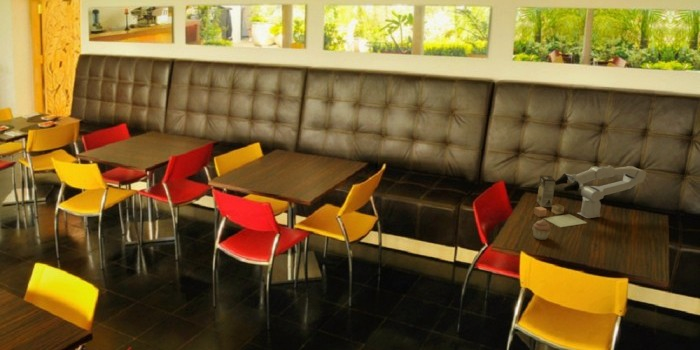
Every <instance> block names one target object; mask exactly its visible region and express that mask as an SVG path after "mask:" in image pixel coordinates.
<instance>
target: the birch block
mask: <svg viewBox="0 0 700 350" xmlns="http://www.w3.org/2000/svg"><path fill="white" fill-rule="evenodd" d="M550 210H551V211H550V212H551V213H553V214H555V215H561V214H562V215H564V213H565V212H564V211H565V206H563V205H561V204H559V203H556V204H552V207H551V209H550Z"/></svg>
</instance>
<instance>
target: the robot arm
mask: <svg viewBox="0 0 700 350" xmlns="http://www.w3.org/2000/svg"><path fill="white" fill-rule="evenodd" d="M616 175H623V177H622V180H620V181H619V180H618V181H616V182H612V183H608V184H607V183H606V184H604V185H599V186H596V185H590V186H589V185H585V186H584V184H586V183H589V182H592V181H594V180H596V179H597V180H600V181H601V180H603V179H604V178H613V177H615V176H616ZM646 177H647V172H646V171H645V170H644V169H640V168H637V167H635V166H633V165H627V166H622V167H614V166H612V165H607V166H595V165H592V166H591V167H590V168H589V169H587V170H585V171H581V172H579V173H577V174H575V173H572V174H568V173H562V175H561V176H560V177H559V178H558V179H557V180H556V179H555V186H559V185H562V184H568V181H569V182H570V184H568V185H566V186H564V187H563V192H579V190H581V191H580V195H581V196H582V197H581V198H582V203H581V209H580V211H579V212H577V213H576V214H577V215H579V216H581V217H583V218H586V219H591V218H592V219H593V218H600V217H601V215H600V212H601V209H602V208H601V206H602V204H601V203H602V202H601V201H600V200H602V199H604V196H606V195H607V196H608V195H611V194H614V193H620V192H622V191H627V190H630V189H632V188H633V187H635V186H637V185H638V184H641V183H643V182H644V181H645V179H646Z"/></svg>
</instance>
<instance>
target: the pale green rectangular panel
mask: <svg viewBox="0 0 700 350" xmlns="http://www.w3.org/2000/svg"><path fill="white" fill-rule="evenodd" d="M542 219H544V220H545V221H546V222H548V223H551V224H553V225H554V226H556V227H558V228H567V227H573V226H574V227H575V226H579V225H585V224H588V222H586V221H585V220H582V219H581V218H578V217H577V216H574V215H572V214H570V213H568V214H567V213H566V214H562V215H561V214H560V215H555V216H549V217H542Z"/></svg>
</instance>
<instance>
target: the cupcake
mask: <svg viewBox="0 0 700 350" xmlns="http://www.w3.org/2000/svg"><path fill="white" fill-rule="evenodd" d="M531 229H532V231H533V232H532V235H533V238H534V239H536V240H539V241H540V240H541V241H546V240H547V239H548V237H549V235H550V234H551V232H552V228H551V226H550V224H549V222H548V221H547V220H545V219H543V218H542V219H540V220H537V221H536V222H535V223H533V226H531Z"/></svg>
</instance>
